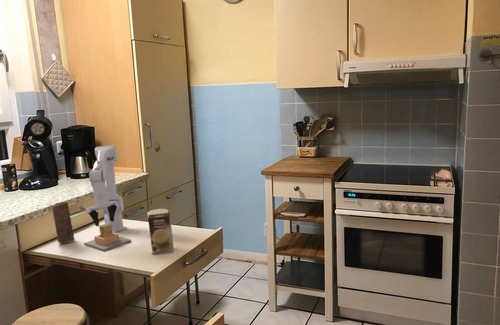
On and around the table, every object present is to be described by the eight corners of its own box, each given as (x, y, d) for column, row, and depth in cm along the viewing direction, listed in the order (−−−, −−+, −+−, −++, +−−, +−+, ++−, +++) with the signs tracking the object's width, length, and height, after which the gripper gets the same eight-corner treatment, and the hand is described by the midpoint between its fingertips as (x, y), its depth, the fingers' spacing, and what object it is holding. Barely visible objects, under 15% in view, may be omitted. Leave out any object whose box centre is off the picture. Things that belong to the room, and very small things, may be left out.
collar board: (84, 245, 196) (83, 236, 195) (110, 235, 206) (109, 228, 206) (104, 251, 184) (103, 243, 183) (131, 241, 194) (130, 233, 194)
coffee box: (151, 255, 174) (147, 218, 172) (153, 250, 180) (148, 214, 178) (173, 252, 175) (169, 216, 173) (174, 247, 181) (170, 212, 179)
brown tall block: (68, 245, 198) (61, 204, 195) (54, 245, 199) (47, 205, 196) (77, 239, 205) (71, 200, 202) (64, 239, 207) (58, 201, 204)
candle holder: (173, 231, 204) (170, 208, 202) (167, 238, 194) (164, 213, 193) (154, 232, 205) (151, 209, 203) (147, 239, 195) (144, 215, 194)
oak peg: (101, 242, 195) (99, 225, 193) (109, 239, 198) (106, 223, 196) (106, 243, 192) (103, 226, 191) (113, 240, 195) (111, 224, 194)
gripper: (90, 200, 183) (94, 229, 186) (119, 192, 194) (123, 220, 196) (82, 198, 188) (87, 227, 190) (111, 191, 199) (115, 218, 201)
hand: (104, 223), depth 194 cm, fingers open, 7 cm apart
